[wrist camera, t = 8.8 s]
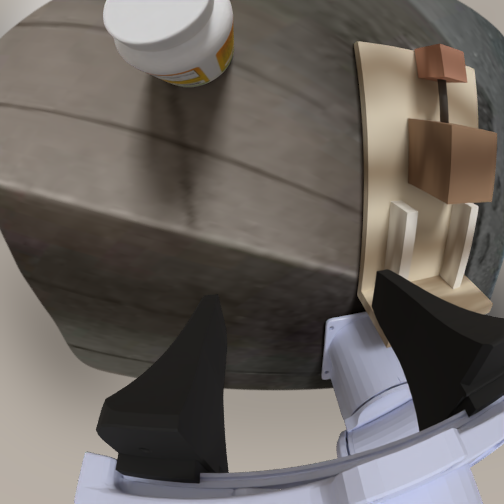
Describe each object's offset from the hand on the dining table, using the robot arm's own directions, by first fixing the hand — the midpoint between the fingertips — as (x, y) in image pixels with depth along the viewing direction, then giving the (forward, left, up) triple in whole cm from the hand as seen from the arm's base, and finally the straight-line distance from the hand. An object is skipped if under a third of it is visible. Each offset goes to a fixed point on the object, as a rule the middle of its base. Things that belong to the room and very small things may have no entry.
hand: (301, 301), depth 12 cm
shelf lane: (+2, -13, -9) cm, 16 cm away
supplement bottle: (+13, +4, -10) cm, 17 cm away
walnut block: (+8, -13, -8) cm, 17 cm away
